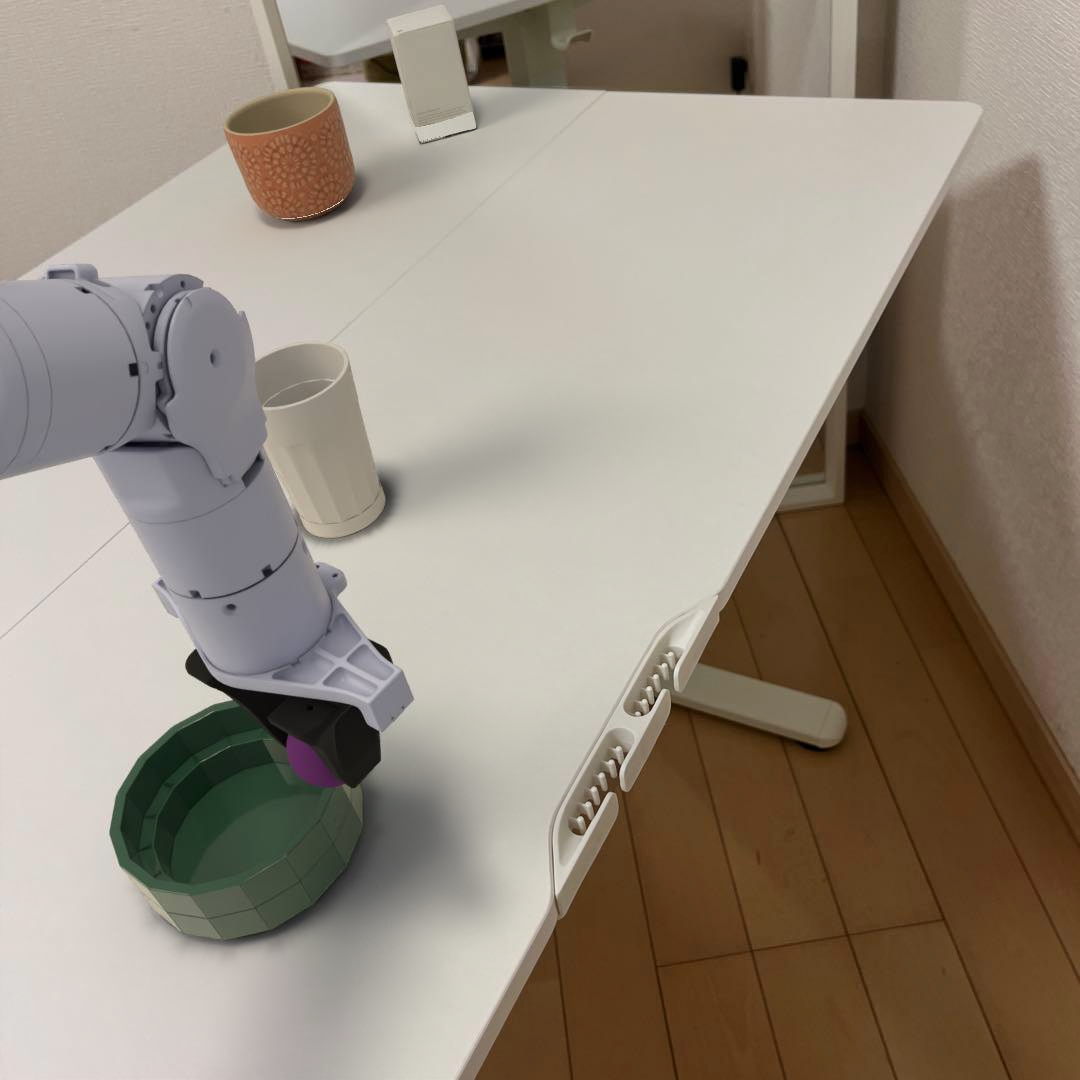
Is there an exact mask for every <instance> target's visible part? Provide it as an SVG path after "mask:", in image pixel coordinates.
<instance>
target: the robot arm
mask: <svg viewBox="0 0 1080 1080" xmlns="http://www.w3.org/2000/svg"><path fill="white" fill-rule="evenodd" d="M43 272H44V273H43V274H44V275H43V276H39V277H37V278H35V279H19V280H18V279H16V280H13V279H12V280H0V481H2V480H7V479H10V478H14V477H18V476H22V475H26V474H29V473H34V472H37V471H42V470H45V469H49V468H53V467H57V466H61V465H65V464H69V463H72V462H77V461H80V460H84V459H89V458H92V459H93V461H94V463H95V464H96V466H97V468H98V469H99V472H100V473H101V475H102V477H103V478H104V480H105V482H106V484H107V485H108V487H109V489H110V491H111V492H112V495H113V496H114V498H115V499H116V501H117V503H118V505H119V506H120V508H121V510H122V512H123V513H124V515H125V516H126V519H127V520H128V523H129V524H130V526H131V527H132V529H133V531H134V532H135V534H136V536H137V538H138V539H139V542H140V543H141V544H142V546H143V548H144V550H145V552H146V553H147V555H148V557H149V559H150V561H151V562H152V565H153V566H154V568H155V569H156V572H158V574H159V578H157V579H156V580H155V581H153V583H152V584H151V588H152V589H153V590H154V592H155V595H157V597H158V599H159V601H160V602H161V604H162V606H163V608H164V610H165V611H166V613H167V614H169V615H170V616H172V617H174V618H176V619H179V621H180V623H181V625H182V627H183V628H184V629H185V631H186V633H187V635H188V637H189V639H190V640H191V642H192V644H193V646H194V647H195V649H193V650H192V651H191V653H190V654H188V655H187V658H186V660H185V663H184V664H185V665H184V669H185V670H186V673H187V674H188V675H189V676H191V677H193V678H194V679H196V680H197V681H199V682H201V683H203V684H204V685H205V686H207V687H209V688H211V689H215V690H217V691H219V692H222V693H223V694H224V695H225V696H227V697H229V698H230V700H234V701H235V702H236V703H237V704H238V705H240V706H241V707H242V708H243V709H244V710H245V711H246V712H247V713H248V714H249V715H250V716H251V717H252V718H253V719H254V720H255V721H256V722H257V723H258V724H259V725H260V726H261V727H262V728H263V729H264V730H265V731H266V732H267V733H268V734H269V735H270V736H271V737H272V738H273V739H274V740H275V741H277V742H278V743H279V744H280V745H282V746H283V747H285V748H287V738H288V734H289V735H291V736H293V737H294V738H296V739H298V740H300V741H302V742H304V743H307V744H308V745H309V746H310V747H311V748H312V749H313V750H314V751H315V753H316V754H317V755H318V756H319V758H320V759H321V760H322V762H323V763H324V764H325V765H326V767H327V768H328V769H329V771H330V772H331V773H332V774H333V775H334V776H335V777H336V778H337V779H338V780H340V781H341V782H342V783H344V784H346V785H347V786H349V787H350V788H352V789H353V788H356V787H357V786H358V785H360V784H361V783H362V782H363V781H364V780H365V779H366V777H367V776H368V775H370V773H371V772H372V771H374V769H375V768H376V767H377V766H378V765H379V764H380V763H381V762H382V748H381V747H382V746H381V734H380V733H384V732H385V731H386V730H387V729H388V728H389V727H390V726H391V724H392V723H394V722H395V721H396V720H397V719H398V718H399V717H400V716H401V715H402V714H403V713H404V711H405V710H406V709H407V708H408V707H409V706H410V705H411V704H412V703H413V701H415V697H414V695H413V692H412V690H411V688H410V685H409V682H408V680H407V677H406V675H405V672H404V669H403V668H401V667H399V666H397V665H396V664H394V662H393V658H392V655H391V653H390V651H389V650H388V648H387V647H386V646H384V645H382V644H380V643H378V642H376V641H374V640H373V639H370V638H369V637H368V636H367V635H366V634H365V633H364V632H363V630H362V629H361V628H360V626H359V625H358V624H357V622H356V621H355V620H354V619H353V616H351V614H350V613H349V612H348V610H347V609H346V608H345V607H344V606H343V604H342V602H341V601H340V600H339V599H338V597H339V595H340V594H341V593H342V592H344V590H345V589H346V588H347V587H348V581H347V577H346V575H345V572H343V570H341V569H339V568H337V567H335V566H333V565H330V564H328V563H326V562H322V561H314V558H313V556H312V554H311V552H310V549H309V548H308V545H307V543H306V541H305V538H304V536H303V534H302V532H301V529H300V526H299V524H298V523H297V519H296V517H295V514H294V512H293V510H292V508H291V505H290V503H289V501H288V499H287V497H286V495H285V492H284V489H283V488H282V485H281V482H280V481H279V480H280V479H279V477H278V475H277V473H276V471H275V469H274V468H273V466H272V464H271V462H270V460H269V457H268V455H267V453H266V451H265V448H264V446H263V444H264V442H265V441H266V439H267V435H268V433H267V429H266V426H265V423H266V421H267V418H266V415H265V413H264V410H263V408H262V406H261V403H260V401H259V398H258V394H257V390H256V383H255V360H256V355H255V347H254V340H253V335H252V334H253V333H252V330H251V326H250V324H249V319H248V317H247V315H246V312H245V310H239V311H238V312H237V310H236V308H235V307H234V305H233V304H232V302H230V301H229V299H228V298H227V297H226V296H225V295H223V294H222V293H221V292H219V291H218V290H215V289H213V288H212V287H211V286H209V287H208V286H204V282H205V281H204V280H202V279H201V278H199V277H198V276H194V275H192V274H189V273H169V274H148V275H131V276H130V275H129V276H127V275H126V276H111V277H109V276H108V277H99V272H98V269H97V268H96V267H95V265H93V264H91V263H63V264H50V265H47V266H46V267H45V269H44V271H43Z"/></svg>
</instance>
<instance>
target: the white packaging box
mask: <svg viewBox="0 0 1080 1080" xmlns="http://www.w3.org/2000/svg"><path fill="white" fill-rule="evenodd" d="M385 24H386V28H387V32H388V37H389V40H390V45H391V48H392V52H393V55H394V56H393V57H394V60H395V64H396V68H397V71H398V75H399V79H400V84H401V87H402V91H403V95H404V100H405V102H406V103H405V104H406V106H407V110H409V111H408V114H410V115H409V118H410V117H411V119H412V121H413V124H414V125H415V127H421V126H426V125H431V124H435V123H439V122H442V121H445V120H448V119H453V118H455V117H457V116H461V115H463V114H466V113H469V112H473V111H474V106H473V103H472V98H471V94H470V88H469V85H468V80H467V75H466V70H465V66H464V62H463V58H462V53H461V49H460V43H459V39H458V35H457V31H456V26H455V21H454V18H453V16H452V15H451V13H450V12H449V10H448V8H447V7H446V5H445V4H444V3H442V4H439V5H438V4H437V5H434V6H430V7H427V8H426V7H425V8H422V9H419V10H415V11H412V12H409V13H405V14H401V15H398V16H394V17H391V18H387V19H386V20H385ZM411 119H410V120H411ZM453 134H454V133H453ZM440 139H444V138H443V137H441V138H440V136H439V138H437V139H436V137H435V139H432V138H431V140H429V141H428V139H427V141H426V140H425V142H424V140H423V142H422V141H421V143H420V144H424V143H428V142H432V141H437V140H440Z"/></svg>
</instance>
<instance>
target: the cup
mask: <svg viewBox="0 0 1080 1080" xmlns="http://www.w3.org/2000/svg"><path fill="white" fill-rule="evenodd" d="M255 383H256V390H257V394H258V398H259V401H260V403H261V406H262V408H263V410H264V413H265V415H266V418H267V421H266V423H265V426H266V429H267V433H268V435H267V439H266V441H265V442H264V444H263V446H264V448H265V451H266V453H267V455H268V457H269V460H270V462H271V464H272V467H273V469H274V471H275V473H276V476H277V478H278V480H280V483H281V484H282V486H283V488H284V489H285V491H286V493H287V495H288V497H289V499H290V501H291V502H292V505H293V506H294V508H295V509H296V511H297V513H298V515H299V519H300V520H301V523H302V525H303V527H304V528H305V530H306V531H307V532H308V533H309V534H311V535H313V536H315V537H319V538H326V539H335V538H342V537H346V536H350V535H353V534H355V533H357V532H360V531H362V530H363V529H365V528H367V527H369V526H370V525H371V524H372V523H374V522H375V521H376V520H377V519H378V517H380V516H381V514H382V512H383V511H384V508H385V506H386V495H385V492H384V489H383V487H382V483H381V481H380V479H379V476H378V472H377V467H376V464H375V463H376V462H375V460H374V456H373V452H372V449H371V448H372V447H371V445H370V441H369V438H368V437H369V436H368V432H367V430H366V425H365V421H364V418H363V414H362V410H361V406H360V402H359V395H358V392H357V388H356V387H357V386H356V382H355V378H354V375H353V371H352V366H351V363H350V358H349V355H348V353H347V352H346V350H345V349H344V348H342V347H341V346H339V345H338V344H335V343H332V342H329V341H322V340H309V341H300V342H295V343H290V344H286V345H283V346H280V347H278V348H275V349H272V350H270V351H268V352H266V353H264V354H262V355H261V356H259V357H256V358H255Z"/></svg>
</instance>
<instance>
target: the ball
mask: <svg viewBox="0 0 1080 1080" xmlns="http://www.w3.org/2000/svg"><path fill="white" fill-rule="evenodd" d="M287 756H288V760H289V762H290V765H291V767H292V768H293V770H294V771H295V773H296V774H297V775H298V776H299V777H300V778H301V779H302V780H304V781H305V782H307V783H309V784H311V785H314V786H317V787H323V788H332V787H338V786H341V785H344V783H342V782H341V781H340V780H338V779H337V778H336V777H335V776H334V775H333V774H332V773H331V772H330V771H329V769H328V768H327V767H326V765H325V764H324V763H323V762H322V760H321V759H320V758H319V756H318V755H317V754H316V753H315V751H314V750H313V749H312V748H311V747H310V746H309V745H308V744H307V743H304V742H302V741H300V740H298V739H296V738H294V737H293V736H291V735H289V734H288V738H287Z"/></svg>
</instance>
